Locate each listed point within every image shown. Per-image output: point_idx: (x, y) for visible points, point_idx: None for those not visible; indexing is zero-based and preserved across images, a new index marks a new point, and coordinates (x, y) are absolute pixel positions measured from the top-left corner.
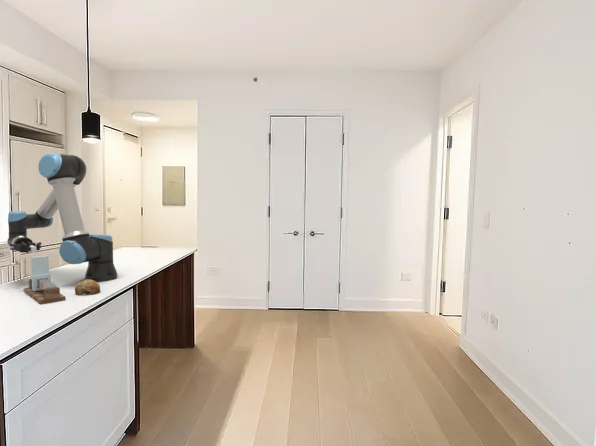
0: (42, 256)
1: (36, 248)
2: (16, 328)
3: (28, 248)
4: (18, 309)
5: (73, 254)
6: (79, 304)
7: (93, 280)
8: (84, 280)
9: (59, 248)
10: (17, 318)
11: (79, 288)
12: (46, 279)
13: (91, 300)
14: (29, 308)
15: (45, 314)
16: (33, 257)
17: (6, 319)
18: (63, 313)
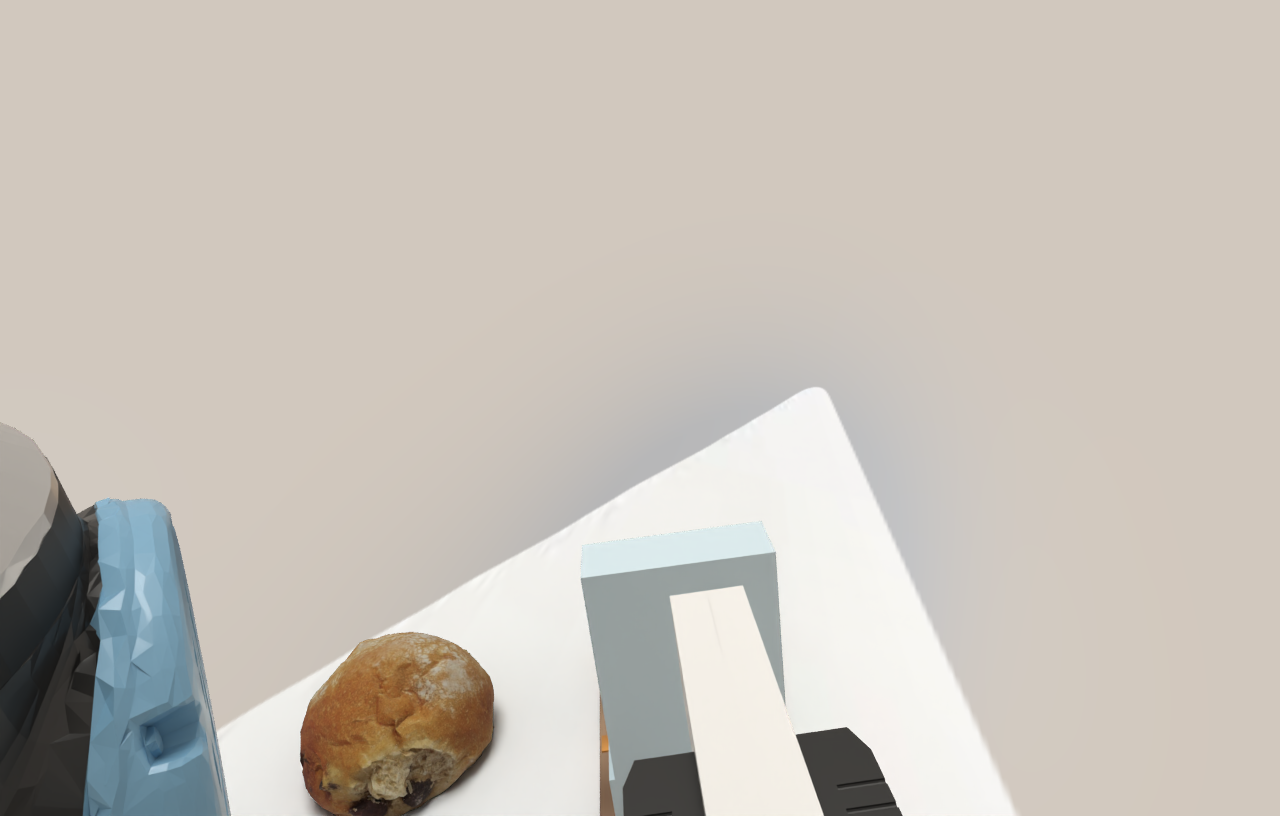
0: (644, 550)
1: (652, 783)
2: (819, 443)
3: (842, 736)
4: (852, 592)
5: (204, 680)
6: (576, 558)
7: (348, 658)
8: (412, 645)
9: (202, 762)
10: (832, 501)
11: (477, 662)
12: None
13: (502, 588)
14: (797, 586)
15: (730, 505)
16: (748, 531)
17: (873, 504)
18: (668, 496)
